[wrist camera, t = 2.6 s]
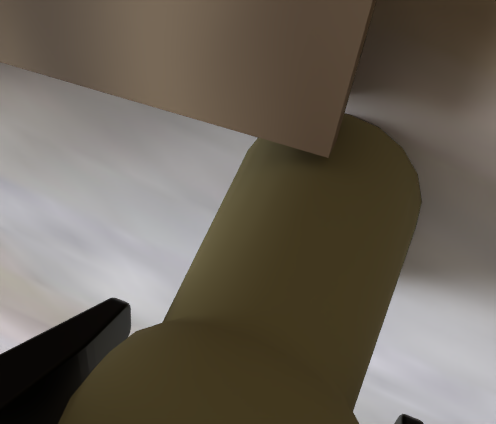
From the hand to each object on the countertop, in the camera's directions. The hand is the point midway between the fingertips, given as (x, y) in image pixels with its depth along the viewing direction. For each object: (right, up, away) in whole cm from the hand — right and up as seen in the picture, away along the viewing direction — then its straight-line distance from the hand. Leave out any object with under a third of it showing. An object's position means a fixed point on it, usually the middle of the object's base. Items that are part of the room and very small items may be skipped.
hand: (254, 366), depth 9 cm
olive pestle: (+3, +4, +6) cm, 7 cm away
